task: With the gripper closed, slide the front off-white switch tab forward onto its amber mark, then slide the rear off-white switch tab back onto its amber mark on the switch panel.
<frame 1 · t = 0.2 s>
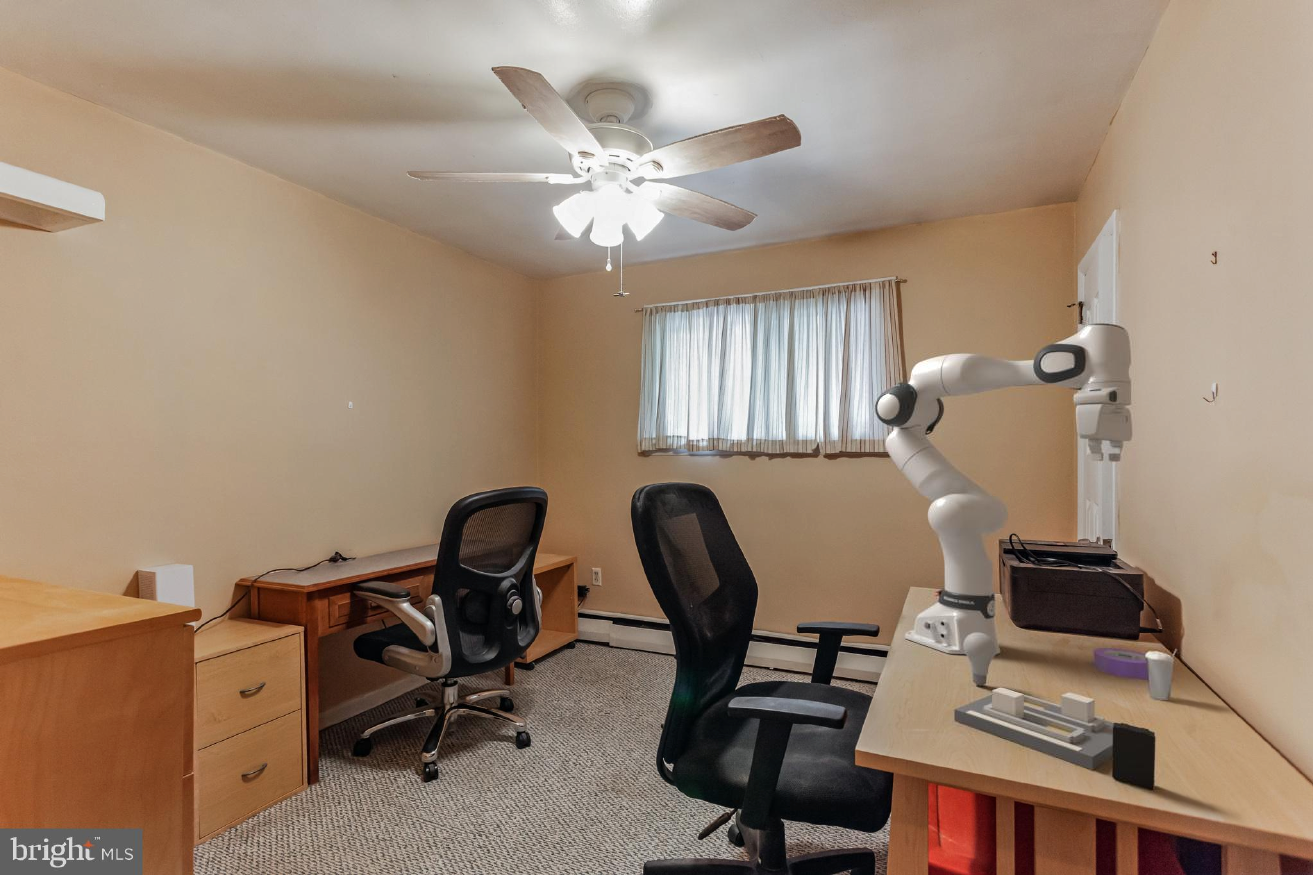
hand: (1106, 461, 138), 48 cm above the table, tool pointing down, fingers open, 8 cm apart
lightbulb: (979, 686, 134), on the table
switch tab a: (1007, 703, 113), point 4 cm above the table, slide at 0.0 cm
switch panel: (1042, 730, 111), on the table
switch tab b: (1077, 709, 111), point 4 cm above the table, slide at 8.0 cm
milkshake: (1162, 698, 128), on the table
masking tape: (1124, 672, 146), on the table
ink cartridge: (1133, 783, 94), on the table
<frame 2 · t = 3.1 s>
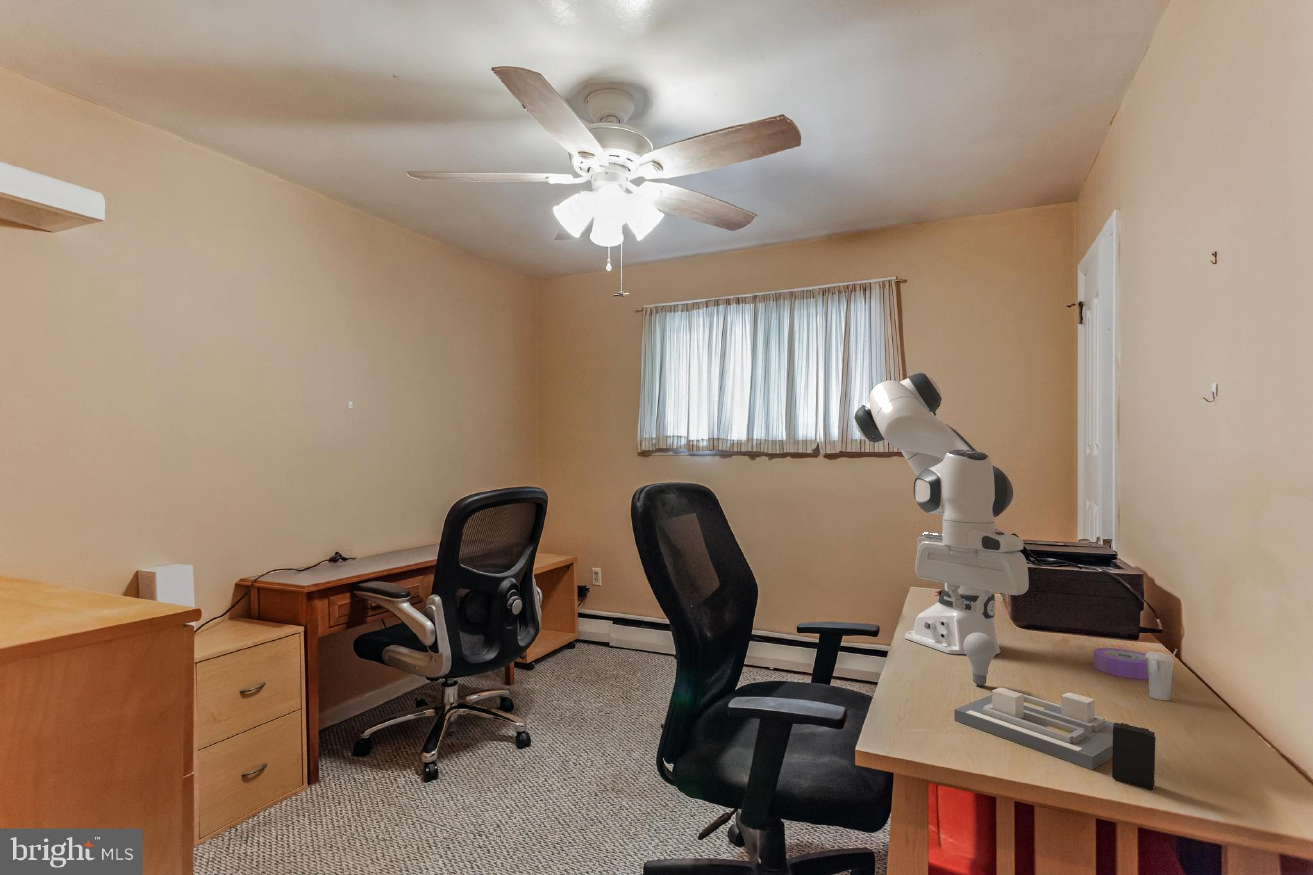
hand: (968, 610, 119), 19 cm above the table, tool pointing down, fingers closed
nothing on the table moved.
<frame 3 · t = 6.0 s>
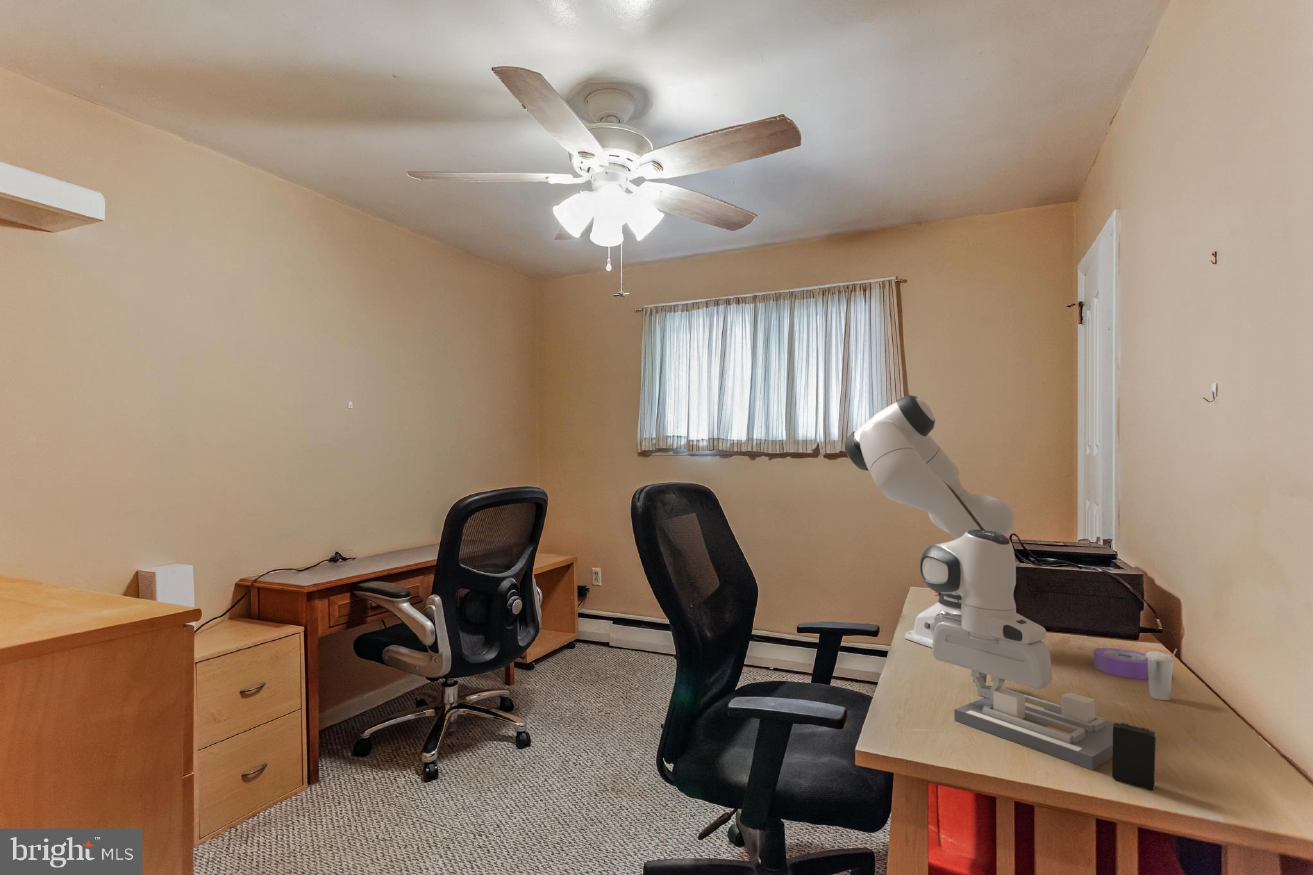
hand: (987, 698, 115), 4 cm above the table, tool pointing down, fingers closed
switch tab a: (1009, 704, 112), point 4 cm above the table, slide at 0.2 cm, touching gripper
everything else where it was.
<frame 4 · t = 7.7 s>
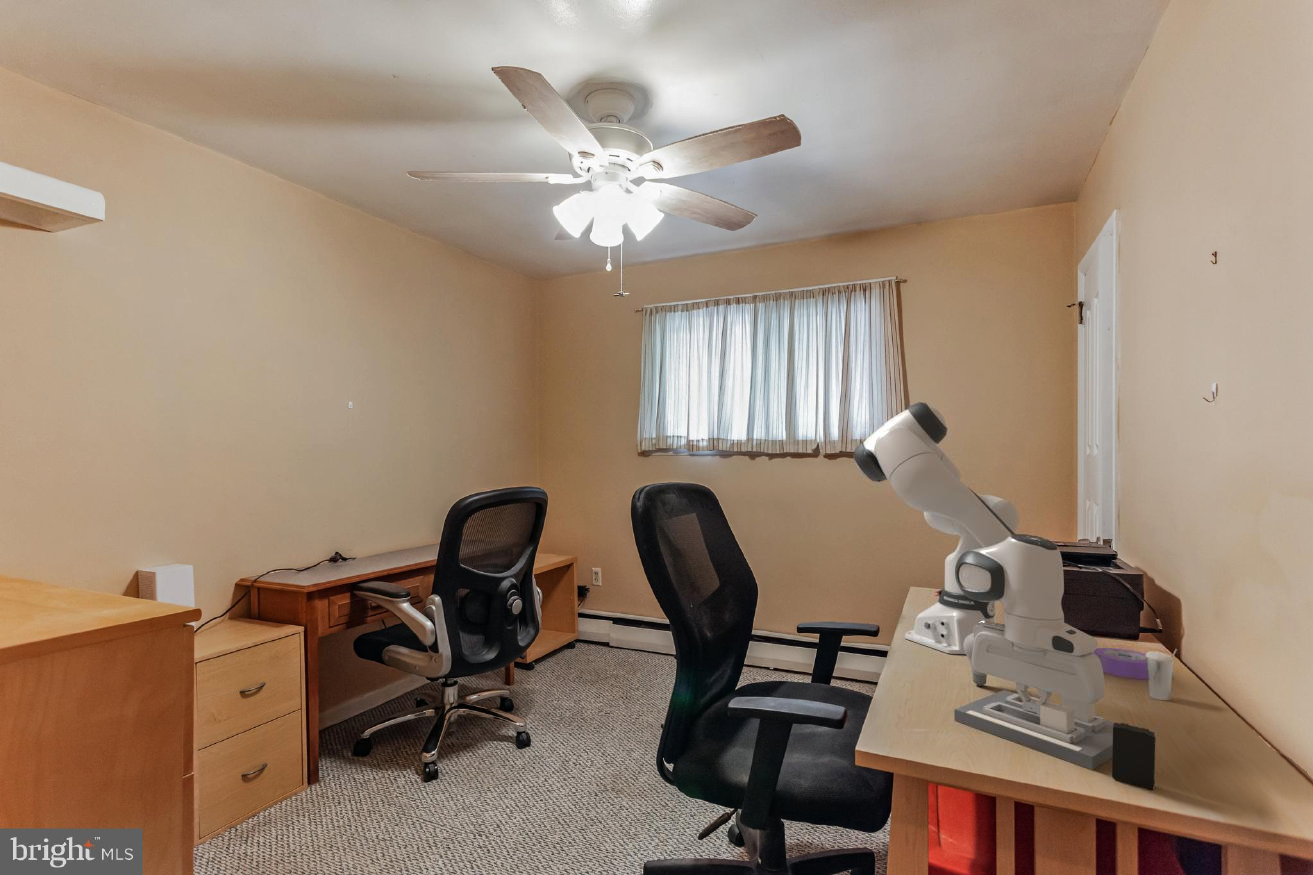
hand: (1033, 712, 109), 4 cm above the table, tool pointing down, fingers closed
switch tab a: (1057, 719, 106), point 4 cm above the table, slide at 8.0 cm, touching gripper
everything else where it was.
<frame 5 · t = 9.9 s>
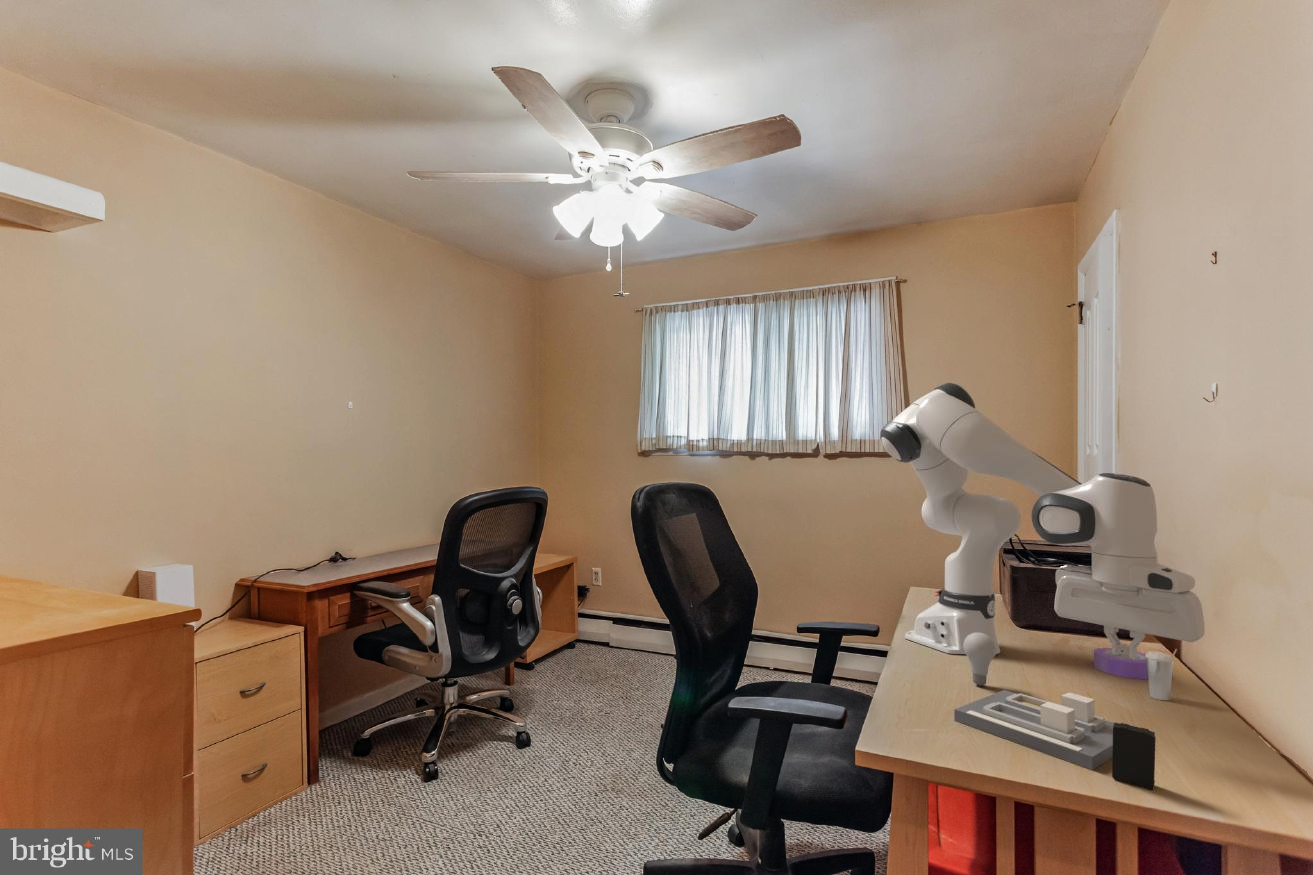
hand: (1124, 655, 105), 15 cm above the table, tool pointing down, fingers closed
switch tab a: (1057, 719, 106), point 4 cm above the table, slide at 8.1 cm
everything else where it was.
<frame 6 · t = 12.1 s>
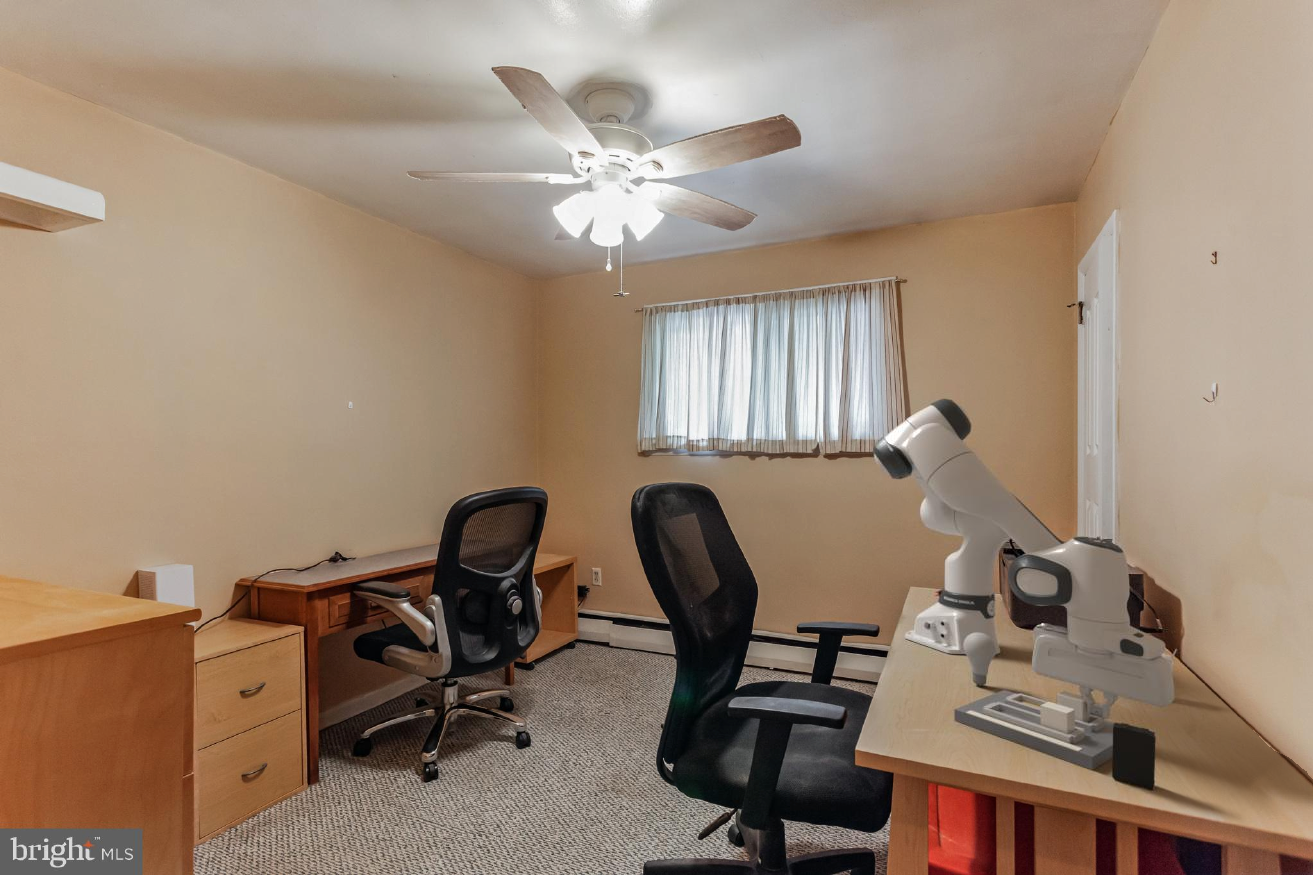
hand: (1098, 715, 108), 4 cm above the table, tool pointing down, fingers closed
switch tab b: (1073, 707, 111), point 4 cm above the table, slide at 7.3 cm, touching gripper
everything else where it was.
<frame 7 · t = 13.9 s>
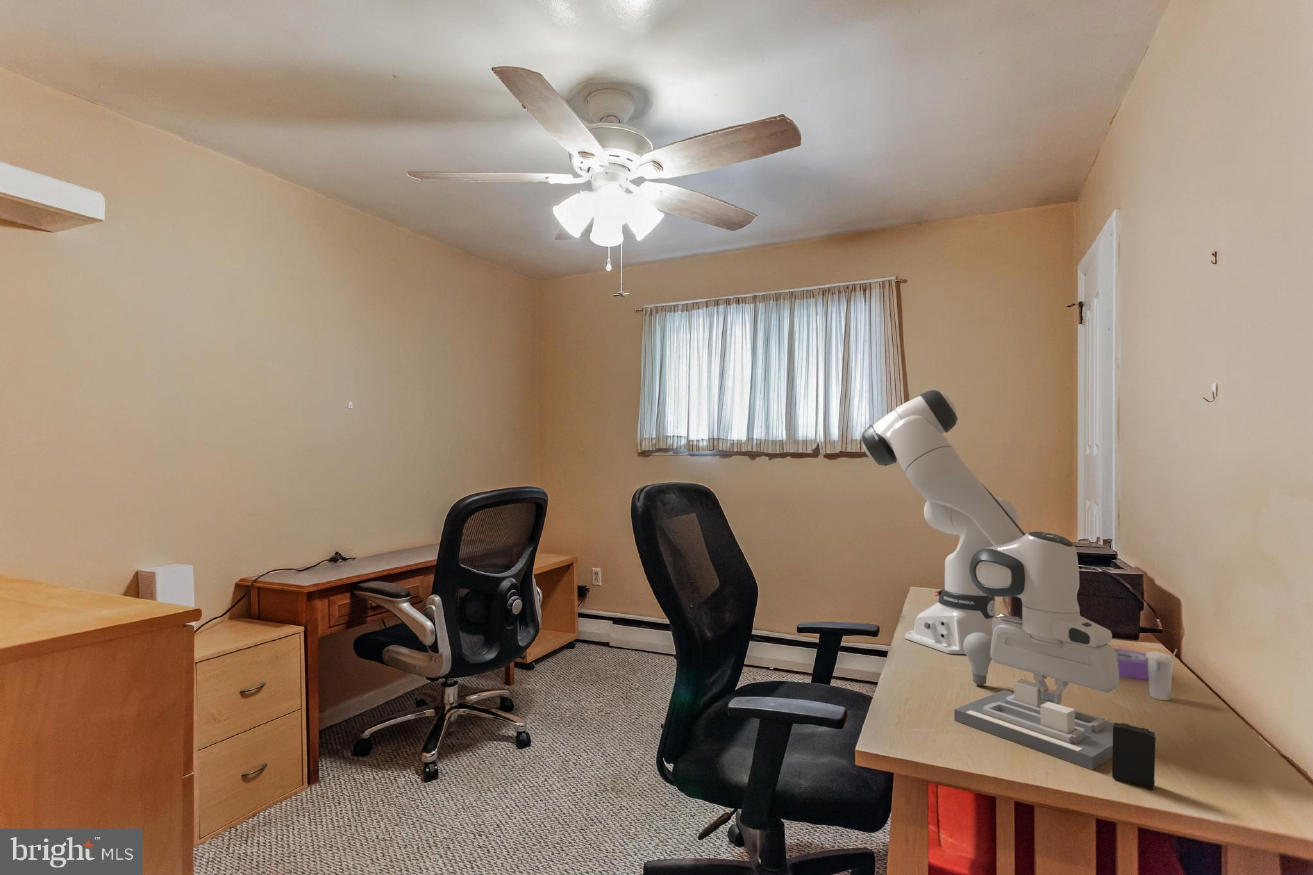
hand: (1050, 701, 114), 4 cm above the table, tool pointing down, fingers closed
switch tab b: (1029, 694, 117), point 4 cm above the table, slide at 0.0 cm, touching gripper
everything else where it was.
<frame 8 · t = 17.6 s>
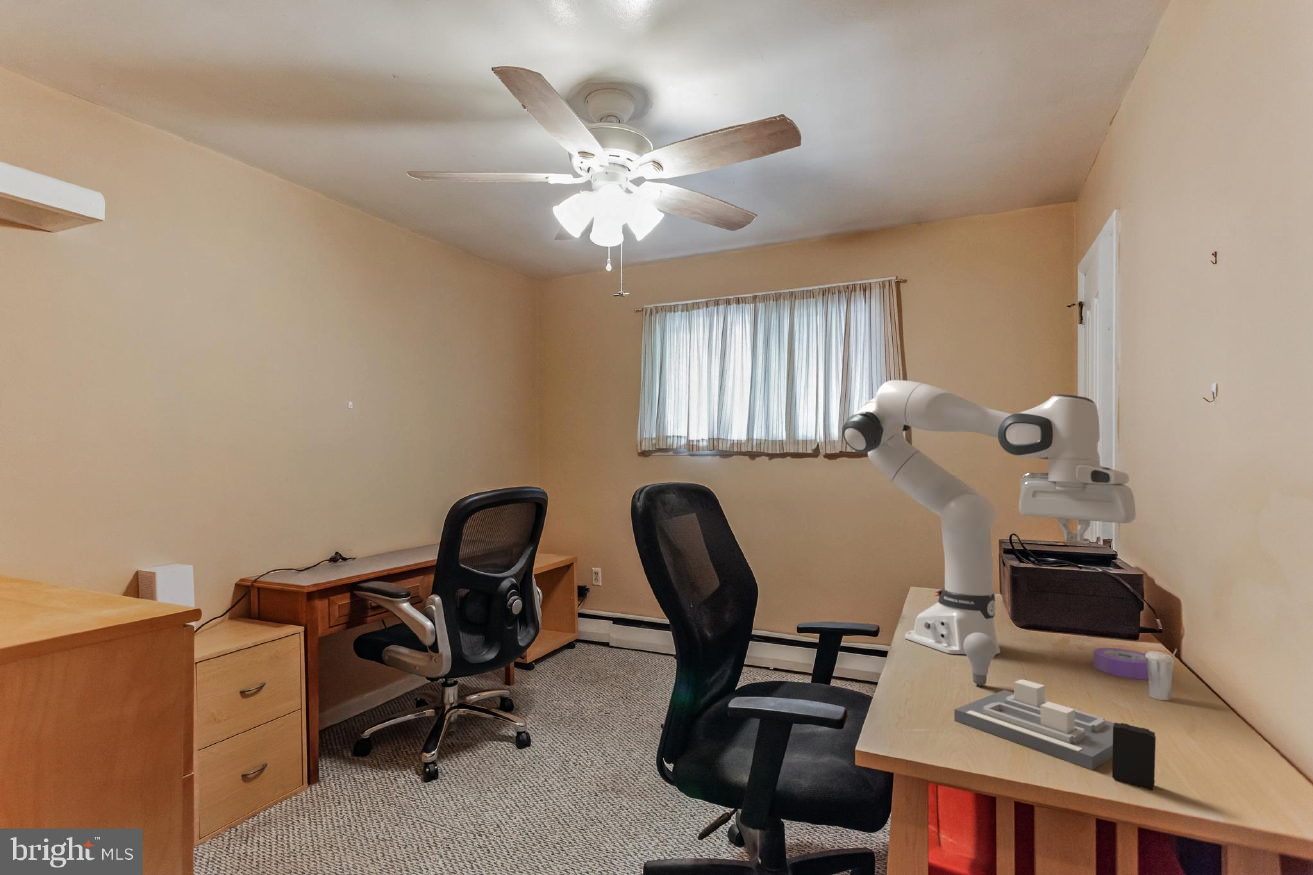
hand: (1073, 541, 129), 31 cm above the table, tool pointing down, fingers closed
switch tab b: (1029, 694, 117), point 4 cm above the table, slide at 0.0 cm
everything else where it was.
at the end: switch tab a slide at 8.1 cm; switch tab b slide at 0.0 cm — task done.
